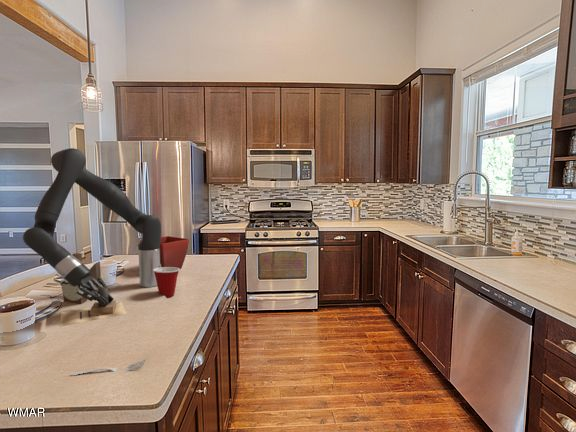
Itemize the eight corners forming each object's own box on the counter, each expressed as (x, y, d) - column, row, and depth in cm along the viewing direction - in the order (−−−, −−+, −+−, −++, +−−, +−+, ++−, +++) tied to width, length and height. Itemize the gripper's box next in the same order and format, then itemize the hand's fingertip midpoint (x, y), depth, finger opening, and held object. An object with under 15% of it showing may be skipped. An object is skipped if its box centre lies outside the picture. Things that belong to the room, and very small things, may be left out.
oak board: (122, 305, 134) (122, 302, 134) (127, 317, 123) (126, 313, 122) (61, 316, 124) (61, 312, 124) (60, 330, 112) (60, 326, 112)
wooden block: (97, 295, 147) (95, 254, 145) (72, 295, 147) (69, 254, 145) (102, 292, 151) (99, 252, 149) (77, 292, 150) (74, 252, 148)
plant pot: (190, 267, 194) (190, 238, 193) (162, 275, 178) (161, 243, 176) (168, 263, 204) (167, 235, 203) (140, 270, 188) (138, 240, 187)
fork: (44, 376, 86) (44, 369, 86) (146, 364, 92) (146, 358, 92) (38, 383, 83) (38, 376, 83) (144, 371, 89) (144, 364, 89)
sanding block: (115, 306, 129) (115, 284, 128) (113, 313, 123) (112, 290, 122) (94, 308, 127) (94, 286, 126) (90, 315, 120) (90, 292, 119)
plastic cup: (186, 293, 149) (185, 266, 148) (167, 301, 139) (166, 272, 138) (167, 290, 154) (166, 264, 152) (148, 297, 144) (147, 269, 143)
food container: (98, 302, 138) (96, 278, 137) (84, 308, 132) (83, 282, 131) (75, 299, 142) (74, 275, 141) (61, 304, 136) (59, 279, 135)
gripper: (68, 268, 116) (107, 302, 117) (90, 258, 130) (124, 289, 131) (53, 283, 116) (92, 317, 118) (77, 272, 130) (111, 303, 132)
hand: (109, 302), depth 124 cm, fingers closed on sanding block, 3 cm apart
